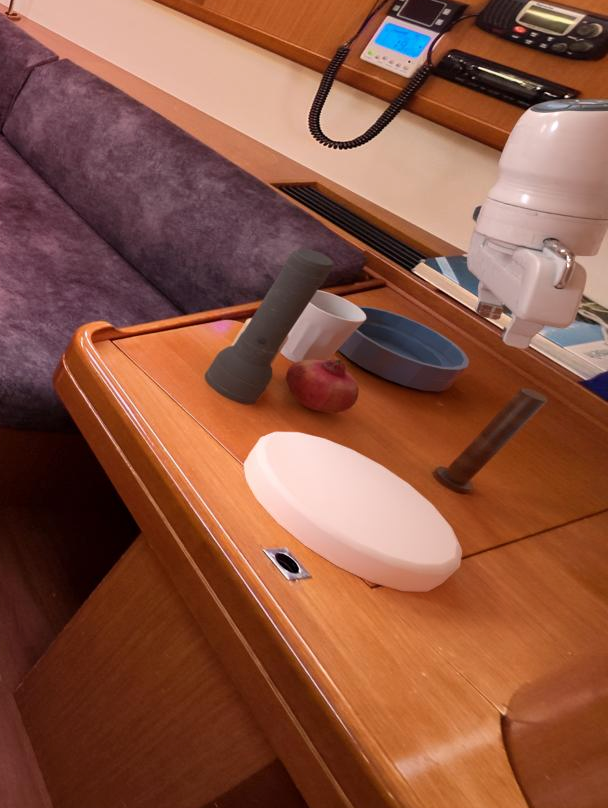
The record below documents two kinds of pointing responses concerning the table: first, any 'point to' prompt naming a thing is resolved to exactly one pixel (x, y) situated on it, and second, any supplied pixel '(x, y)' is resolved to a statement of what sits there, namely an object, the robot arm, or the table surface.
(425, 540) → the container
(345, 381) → the fruit
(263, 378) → the flashlight
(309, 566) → the table surface
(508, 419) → the stick
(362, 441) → the table surface
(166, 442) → the table surface
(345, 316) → the cup
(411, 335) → the bowl
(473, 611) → the table surface
